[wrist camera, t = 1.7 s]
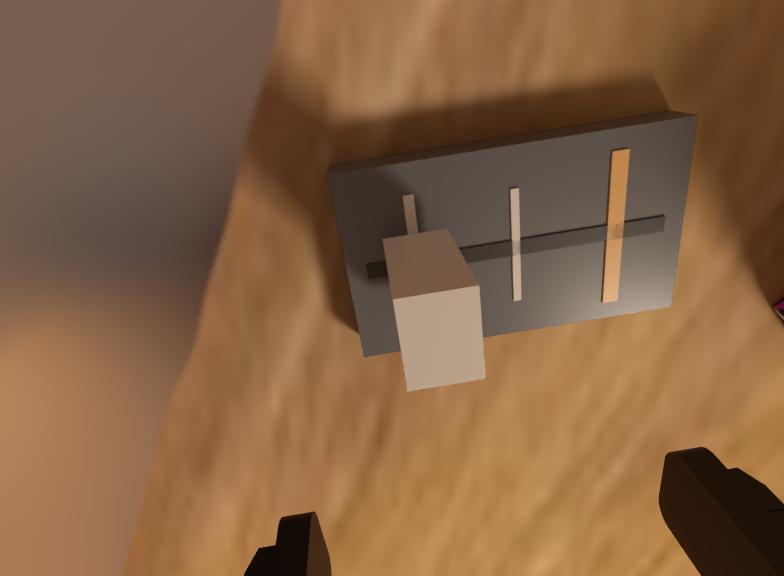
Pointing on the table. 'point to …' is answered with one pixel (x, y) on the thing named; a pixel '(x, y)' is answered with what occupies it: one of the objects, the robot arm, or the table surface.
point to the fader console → (527, 221)
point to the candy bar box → (780, 310)
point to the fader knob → (435, 310)
